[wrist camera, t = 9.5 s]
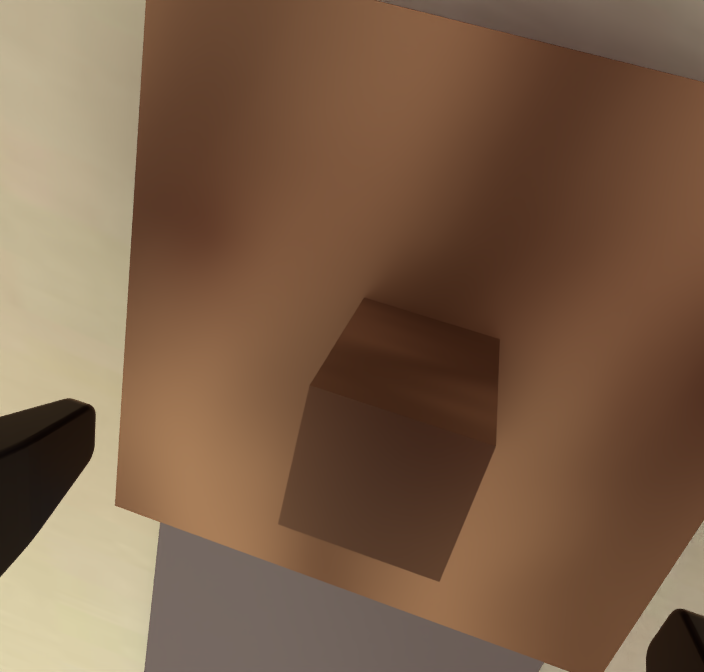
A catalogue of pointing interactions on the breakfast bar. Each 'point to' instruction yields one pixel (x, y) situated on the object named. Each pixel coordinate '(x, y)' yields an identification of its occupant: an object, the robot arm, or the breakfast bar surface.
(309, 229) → the walnut lid
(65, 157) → the breakfast bar surface
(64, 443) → the robot arm
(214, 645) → the rubber mat
